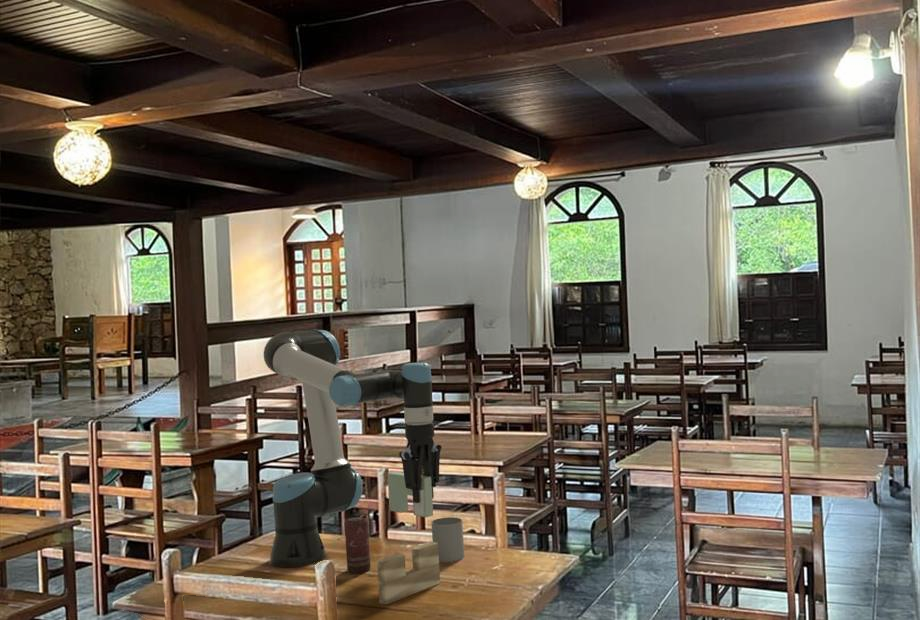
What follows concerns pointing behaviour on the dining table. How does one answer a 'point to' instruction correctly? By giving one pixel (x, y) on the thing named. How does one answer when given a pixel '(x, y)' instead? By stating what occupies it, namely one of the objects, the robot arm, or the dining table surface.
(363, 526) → the can
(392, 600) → the birch plate
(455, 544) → the cup
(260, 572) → the dining table surface
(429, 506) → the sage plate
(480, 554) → the dining table surface
